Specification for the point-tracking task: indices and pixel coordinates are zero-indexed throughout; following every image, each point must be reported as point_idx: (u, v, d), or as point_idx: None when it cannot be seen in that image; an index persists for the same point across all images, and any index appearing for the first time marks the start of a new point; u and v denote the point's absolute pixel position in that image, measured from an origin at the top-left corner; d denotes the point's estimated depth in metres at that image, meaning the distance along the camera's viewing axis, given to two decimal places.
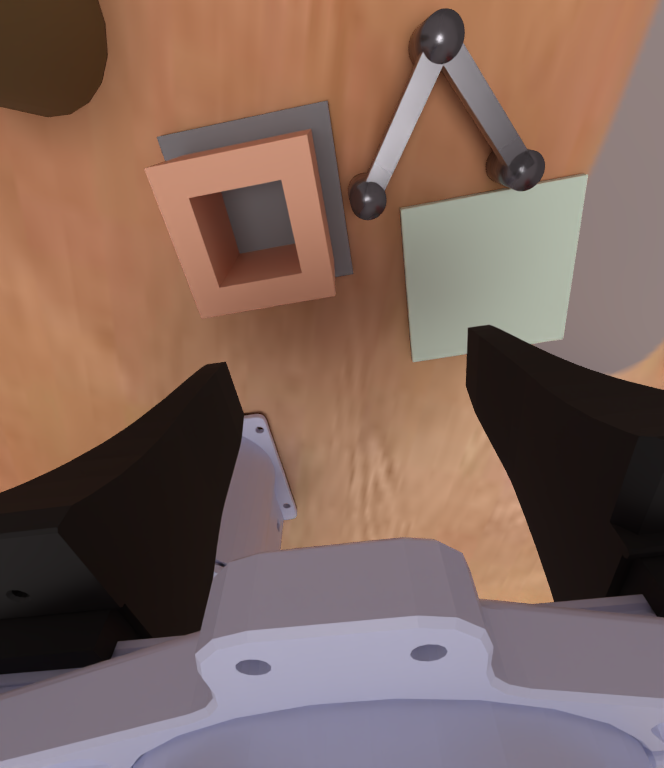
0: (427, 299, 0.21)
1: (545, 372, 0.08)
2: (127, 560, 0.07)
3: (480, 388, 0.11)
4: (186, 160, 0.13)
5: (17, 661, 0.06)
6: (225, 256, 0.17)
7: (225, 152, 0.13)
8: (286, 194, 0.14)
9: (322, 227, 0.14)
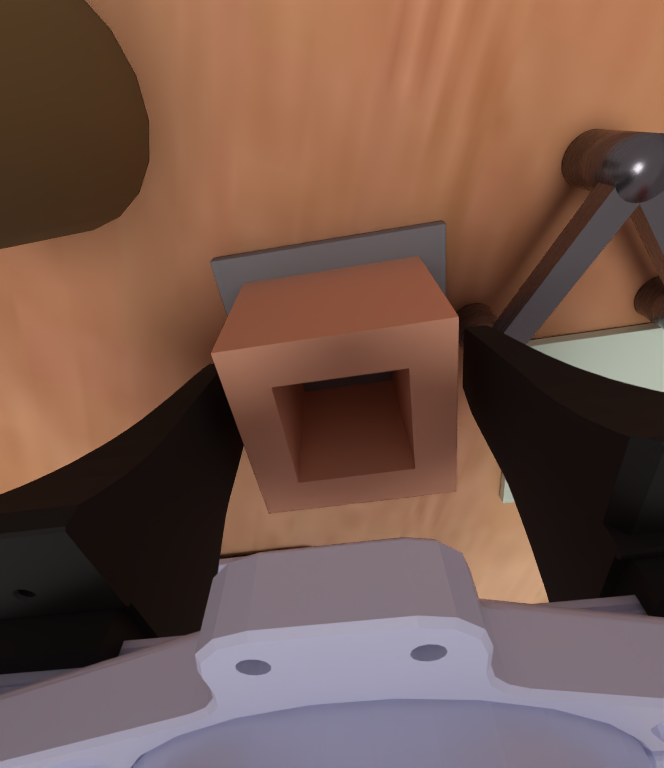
0: None
1: (540, 372, 0.08)
2: (133, 560, 0.07)
3: (476, 389, 0.11)
4: (274, 344, 0.09)
5: (24, 660, 0.06)
6: (297, 419, 0.13)
7: (333, 335, 0.09)
8: (413, 384, 0.10)
9: (455, 421, 0.10)
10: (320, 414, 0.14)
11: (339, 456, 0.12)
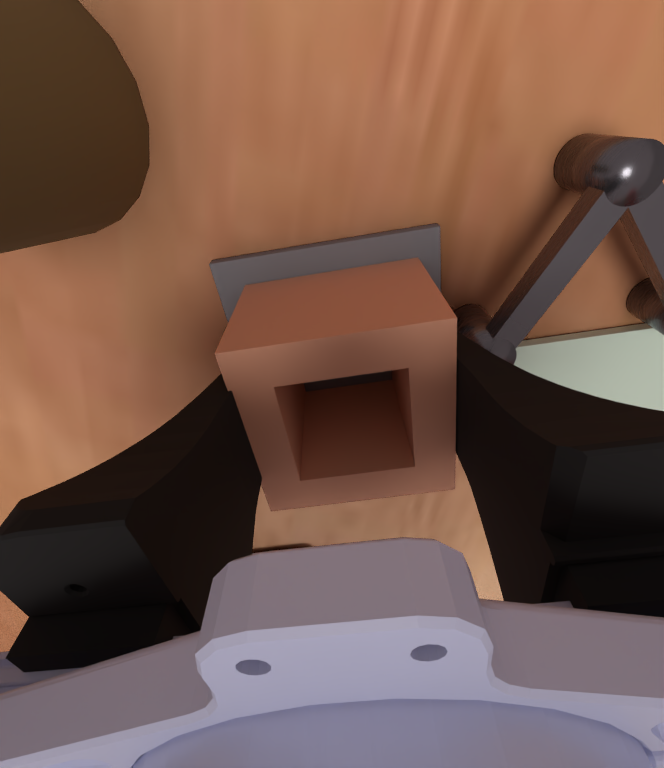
0: None
1: (494, 379, 0.08)
2: (182, 556, 0.07)
3: None
4: (276, 344, 0.09)
5: (75, 656, 0.06)
6: (299, 418, 0.13)
7: (334, 336, 0.09)
8: (412, 384, 0.10)
9: (454, 419, 0.10)
10: (321, 413, 0.14)
11: (340, 455, 0.12)
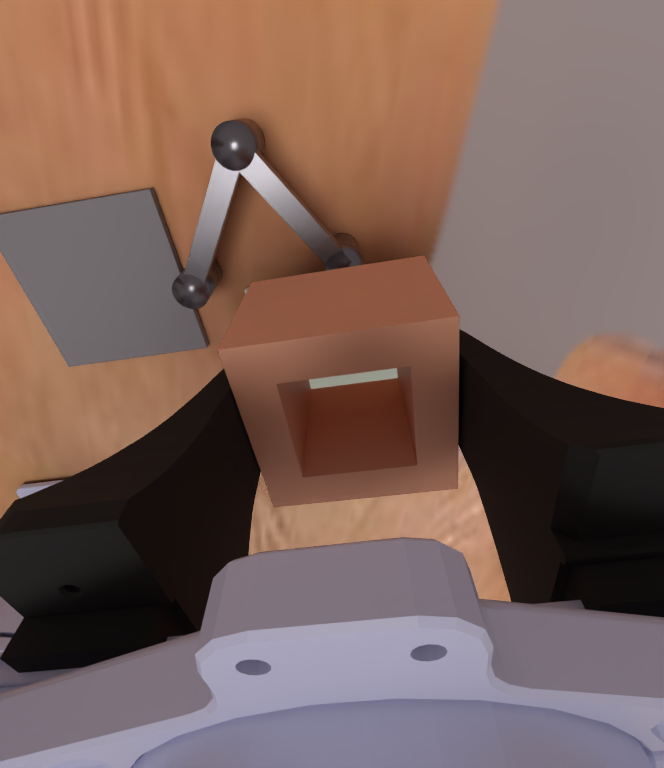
0: None
1: (502, 378, 0.08)
2: (176, 555, 0.07)
3: None
4: (279, 341, 0.09)
5: (69, 656, 0.06)
6: (303, 415, 0.13)
7: (336, 334, 0.09)
8: (414, 382, 0.10)
9: (457, 418, 0.10)
10: (325, 411, 0.14)
11: (343, 452, 0.12)
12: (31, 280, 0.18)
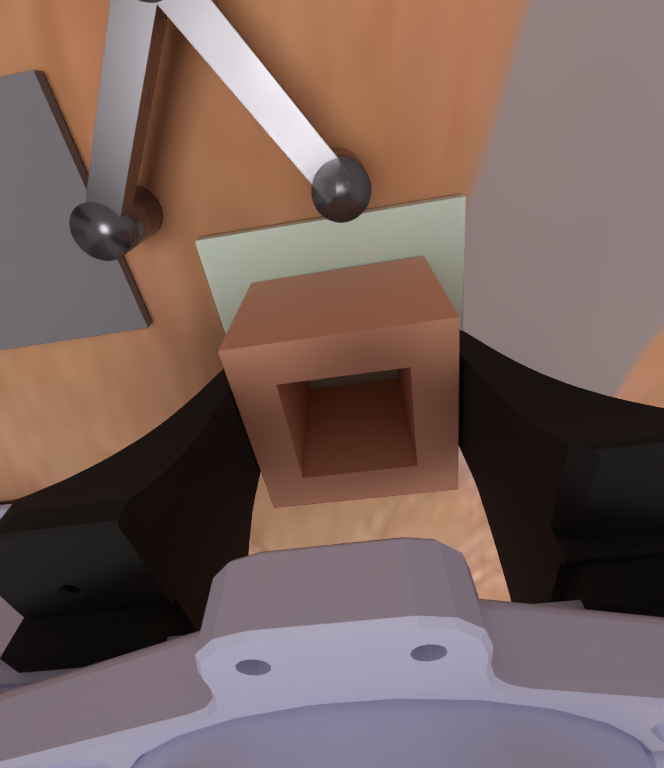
0: None
1: (502, 378, 0.08)
2: (176, 556, 0.07)
3: None
4: (279, 342, 0.09)
5: (69, 656, 0.06)
6: (303, 416, 0.13)
7: (336, 335, 0.09)
8: (414, 383, 0.10)
9: (457, 419, 0.10)
10: (325, 411, 0.14)
11: (343, 453, 0.12)
12: None
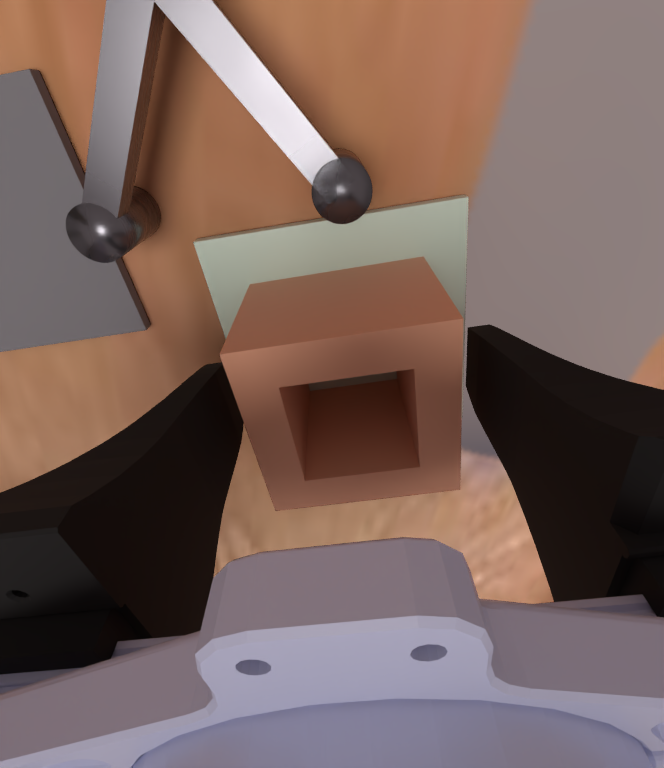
0: None
1: (545, 372, 0.08)
2: (127, 561, 0.07)
3: (480, 388, 0.11)
4: (282, 345, 0.09)
5: (17, 661, 0.06)
6: (304, 418, 0.13)
7: (340, 337, 0.09)
8: (418, 385, 0.10)
9: (459, 420, 0.10)
10: (325, 413, 0.14)
11: (345, 455, 0.12)
12: None
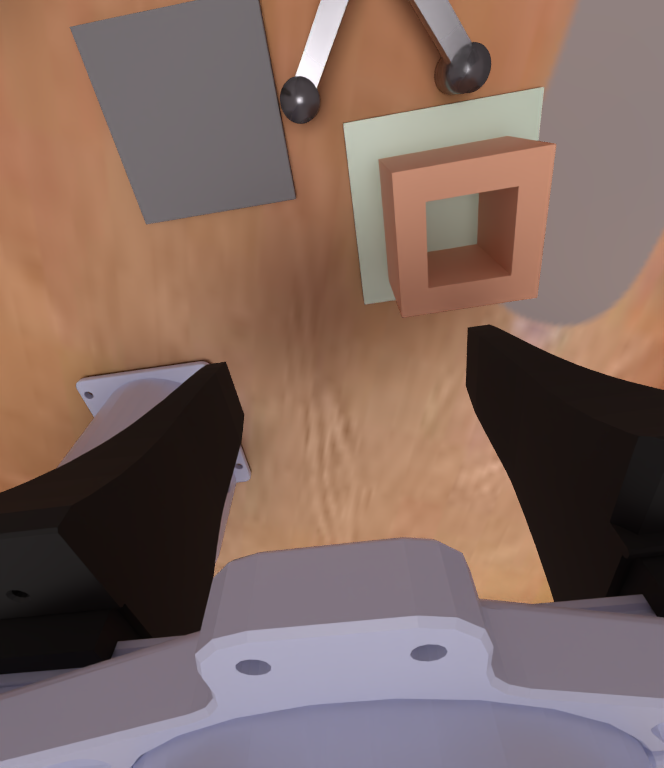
0: (376, 230, 0.19)
1: (545, 372, 0.08)
2: (127, 561, 0.07)
3: (480, 388, 0.11)
4: (434, 166, 0.14)
5: (17, 661, 0.06)
6: None
7: (473, 159, 0.14)
8: (519, 200, 0.15)
9: (544, 232, 0.15)
10: (428, 262, 0.19)
11: (452, 276, 0.17)
12: (117, 110, 0.17)
